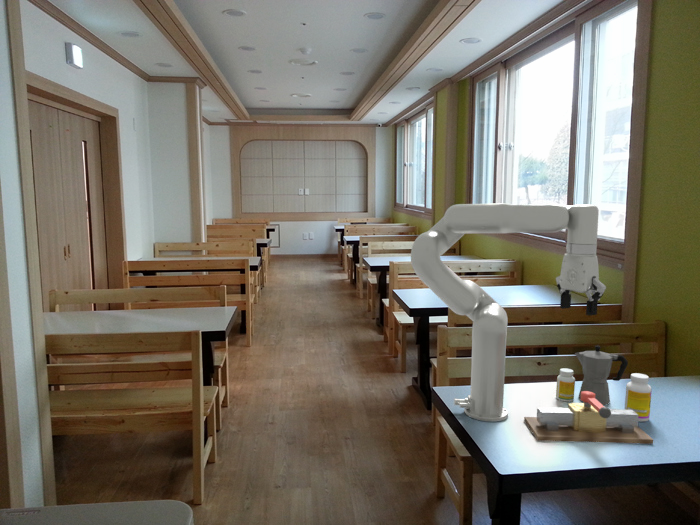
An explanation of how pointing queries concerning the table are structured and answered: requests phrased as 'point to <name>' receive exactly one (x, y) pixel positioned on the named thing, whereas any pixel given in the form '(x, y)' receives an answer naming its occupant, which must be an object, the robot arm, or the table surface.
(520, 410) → the table surface
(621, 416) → the valve
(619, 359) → the coffeepot
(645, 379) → the supplement bottle
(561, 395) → the supplement bottle
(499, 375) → the robot arm
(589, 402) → the lever
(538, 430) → the plank
